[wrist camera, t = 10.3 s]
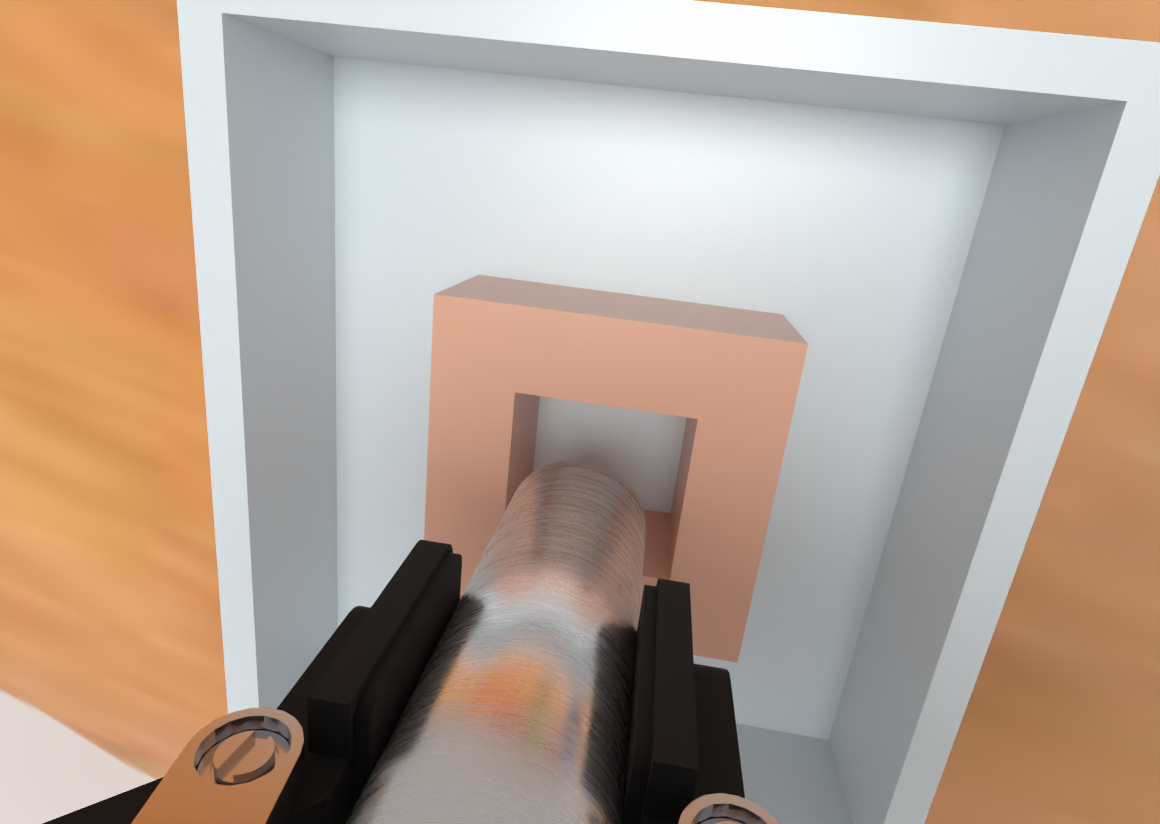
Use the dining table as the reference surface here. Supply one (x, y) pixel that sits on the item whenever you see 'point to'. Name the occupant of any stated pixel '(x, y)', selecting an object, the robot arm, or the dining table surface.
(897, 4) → the dining table surface
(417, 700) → the steel peg
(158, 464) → the dining table surface
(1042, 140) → the open box
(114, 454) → the dining table surface
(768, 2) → the dining table surface
